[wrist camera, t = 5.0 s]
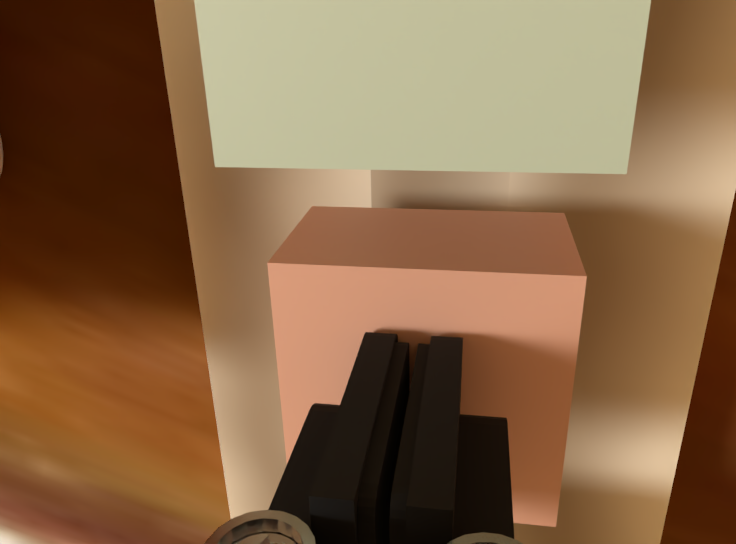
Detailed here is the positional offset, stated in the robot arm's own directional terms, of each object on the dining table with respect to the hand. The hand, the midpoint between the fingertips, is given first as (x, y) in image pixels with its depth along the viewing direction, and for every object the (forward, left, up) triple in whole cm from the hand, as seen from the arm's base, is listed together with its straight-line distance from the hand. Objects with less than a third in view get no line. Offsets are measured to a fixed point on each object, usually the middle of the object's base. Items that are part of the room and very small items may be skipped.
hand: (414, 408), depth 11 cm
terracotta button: (0, 0, -6) cm, 6 cm away
